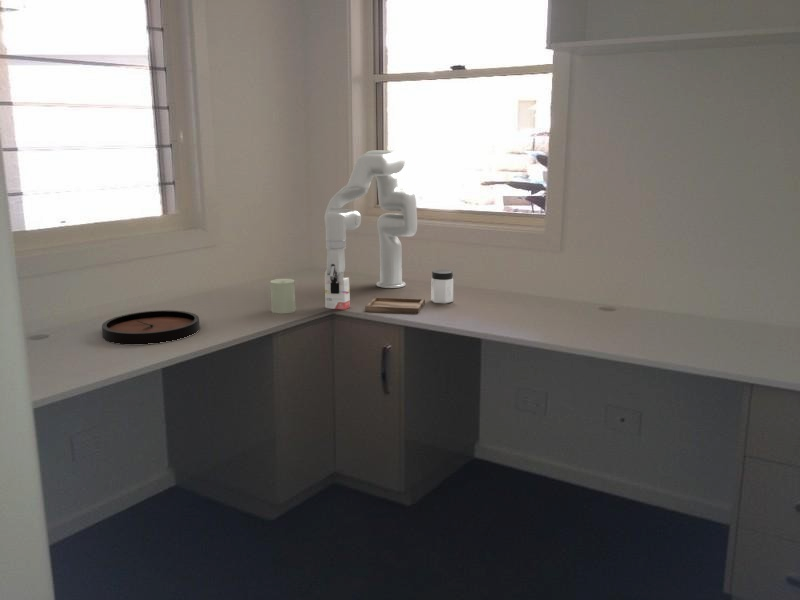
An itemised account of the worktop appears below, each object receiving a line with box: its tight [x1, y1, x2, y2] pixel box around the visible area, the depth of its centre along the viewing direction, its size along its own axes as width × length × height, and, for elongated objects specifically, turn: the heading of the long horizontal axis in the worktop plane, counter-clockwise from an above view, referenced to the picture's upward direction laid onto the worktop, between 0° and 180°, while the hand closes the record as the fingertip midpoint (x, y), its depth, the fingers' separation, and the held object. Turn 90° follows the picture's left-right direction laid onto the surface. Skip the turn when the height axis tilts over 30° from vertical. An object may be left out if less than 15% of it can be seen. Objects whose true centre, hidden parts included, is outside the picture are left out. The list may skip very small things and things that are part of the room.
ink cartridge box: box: [323, 270, 351, 311], centre depth 279 cm, size 9×5×15 cm, turn 68°
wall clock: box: [101, 309, 201, 345], centre depth 248 cm, size 31×4×31 cm
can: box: [269, 278, 297, 315], centre depth 275 cm, size 9×9×12 cm
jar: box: [430, 269, 454, 304], centre depth 290 cm, size 9×8×12 cm
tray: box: [365, 296, 426, 315], centre depth 280 cm, size 16×20×2 cm
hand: (337, 291), depth 279 cm, fingers closed on ink cartridge box, 5 cm apart
